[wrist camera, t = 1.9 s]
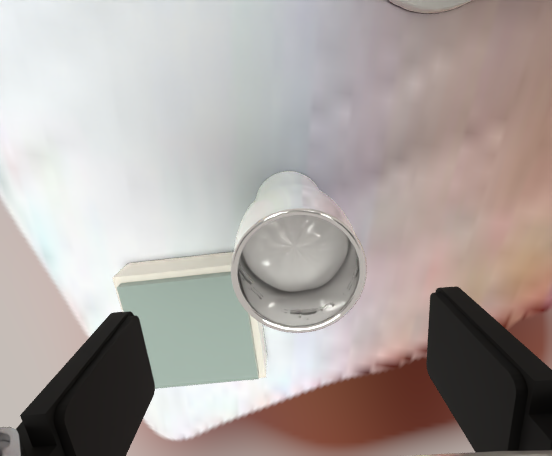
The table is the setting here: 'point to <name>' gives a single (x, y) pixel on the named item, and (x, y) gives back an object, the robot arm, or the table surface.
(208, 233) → the table surface
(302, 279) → the beer glass
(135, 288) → the base
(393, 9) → the table surface
